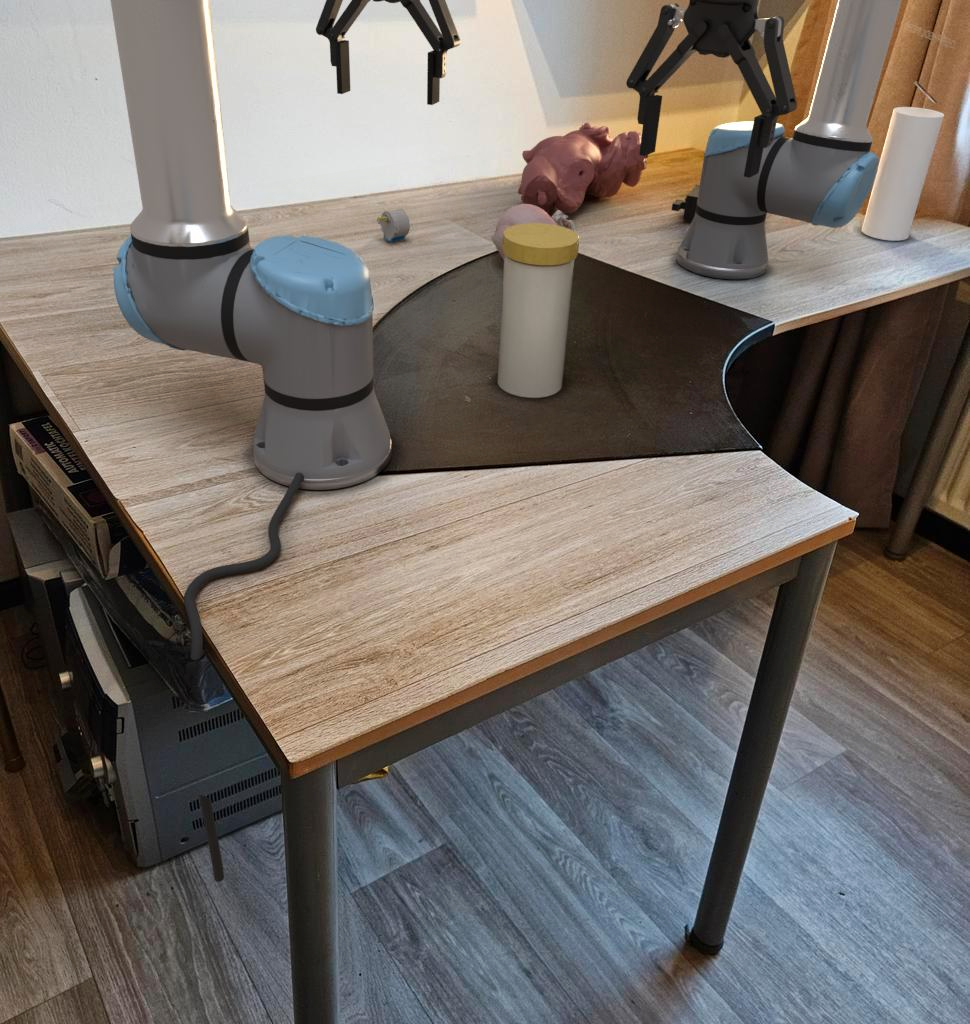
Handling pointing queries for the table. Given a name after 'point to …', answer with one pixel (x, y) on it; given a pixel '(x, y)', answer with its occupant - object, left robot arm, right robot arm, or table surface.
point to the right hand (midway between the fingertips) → (697, 164)
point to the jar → (534, 327)
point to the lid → (540, 244)
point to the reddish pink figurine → (580, 167)
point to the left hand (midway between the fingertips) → (388, 97)
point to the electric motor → (394, 225)
